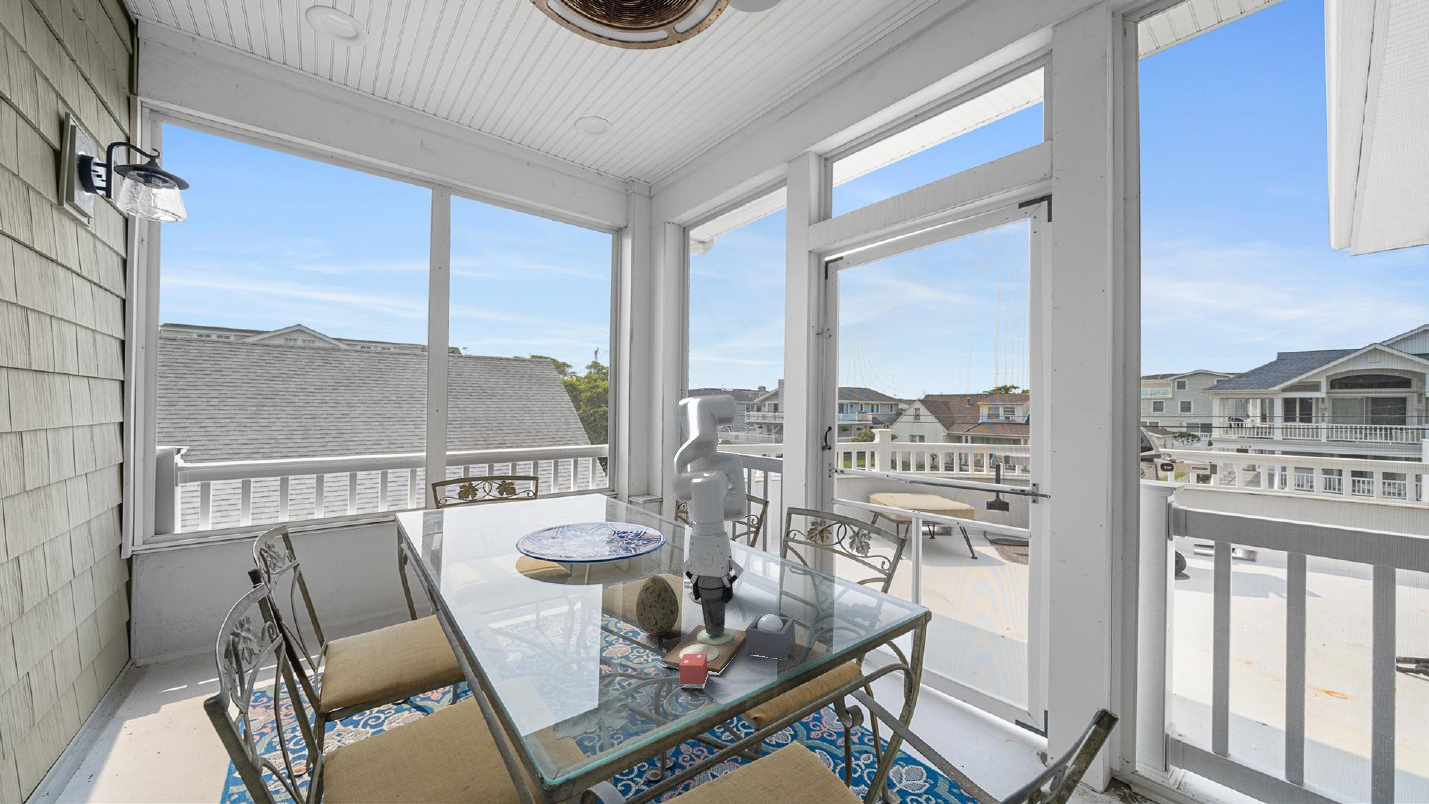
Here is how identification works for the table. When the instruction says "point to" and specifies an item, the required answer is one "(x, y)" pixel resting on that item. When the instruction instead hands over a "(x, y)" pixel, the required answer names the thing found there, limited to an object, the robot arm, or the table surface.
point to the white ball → (770, 623)
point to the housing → (770, 639)
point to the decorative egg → (657, 606)
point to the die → (693, 669)
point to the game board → (709, 647)
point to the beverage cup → (712, 603)
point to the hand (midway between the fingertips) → (713, 599)
